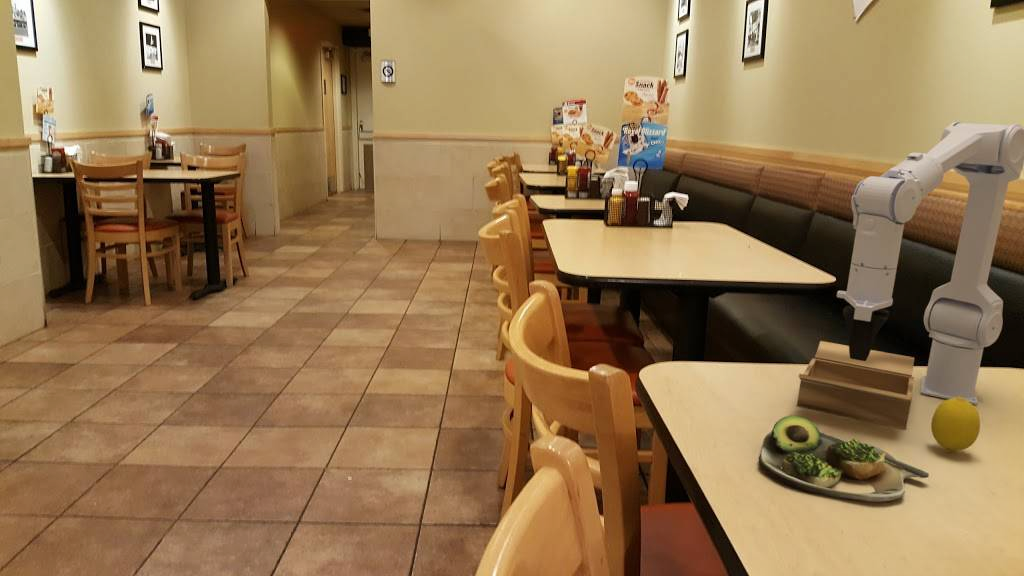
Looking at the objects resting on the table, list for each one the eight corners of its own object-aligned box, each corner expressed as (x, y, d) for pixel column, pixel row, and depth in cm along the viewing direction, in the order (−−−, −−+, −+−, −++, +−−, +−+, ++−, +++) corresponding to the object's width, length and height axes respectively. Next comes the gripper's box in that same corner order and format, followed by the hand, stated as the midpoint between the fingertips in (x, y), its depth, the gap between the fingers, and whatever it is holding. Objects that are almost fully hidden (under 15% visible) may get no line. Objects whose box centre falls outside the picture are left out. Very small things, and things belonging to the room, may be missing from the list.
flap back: (814, 356, 123) (814, 359, 124) (911, 375, 117) (911, 377, 117) (820, 340, 128) (820, 343, 128) (914, 357, 121) (914, 360, 121)
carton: (808, 383, 124) (812, 358, 123) (908, 404, 117) (913, 377, 116) (796, 405, 114) (800, 378, 113) (905, 429, 107) (911, 400, 106)
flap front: (799, 373, 108) (798, 377, 108) (910, 395, 101) (909, 399, 101) (802, 378, 113) (802, 381, 112) (908, 399, 106) (908, 403, 106)
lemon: (980, 464, 97) (992, 407, 95) (934, 458, 98) (945, 402, 96) (964, 446, 102) (975, 392, 100) (921, 441, 103) (931, 387, 101)
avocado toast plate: (920, 461, 98) (927, 429, 97) (934, 526, 82) (941, 488, 81) (767, 430, 105) (771, 400, 104) (752, 484, 89) (757, 449, 88)
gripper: (847, 253, 110) (834, 341, 113) (836, 269, 98) (821, 366, 101) (900, 260, 107) (885, 350, 110) (895, 277, 94) (878, 377, 98)
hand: (858, 358), depth 105 cm, fingers closed
